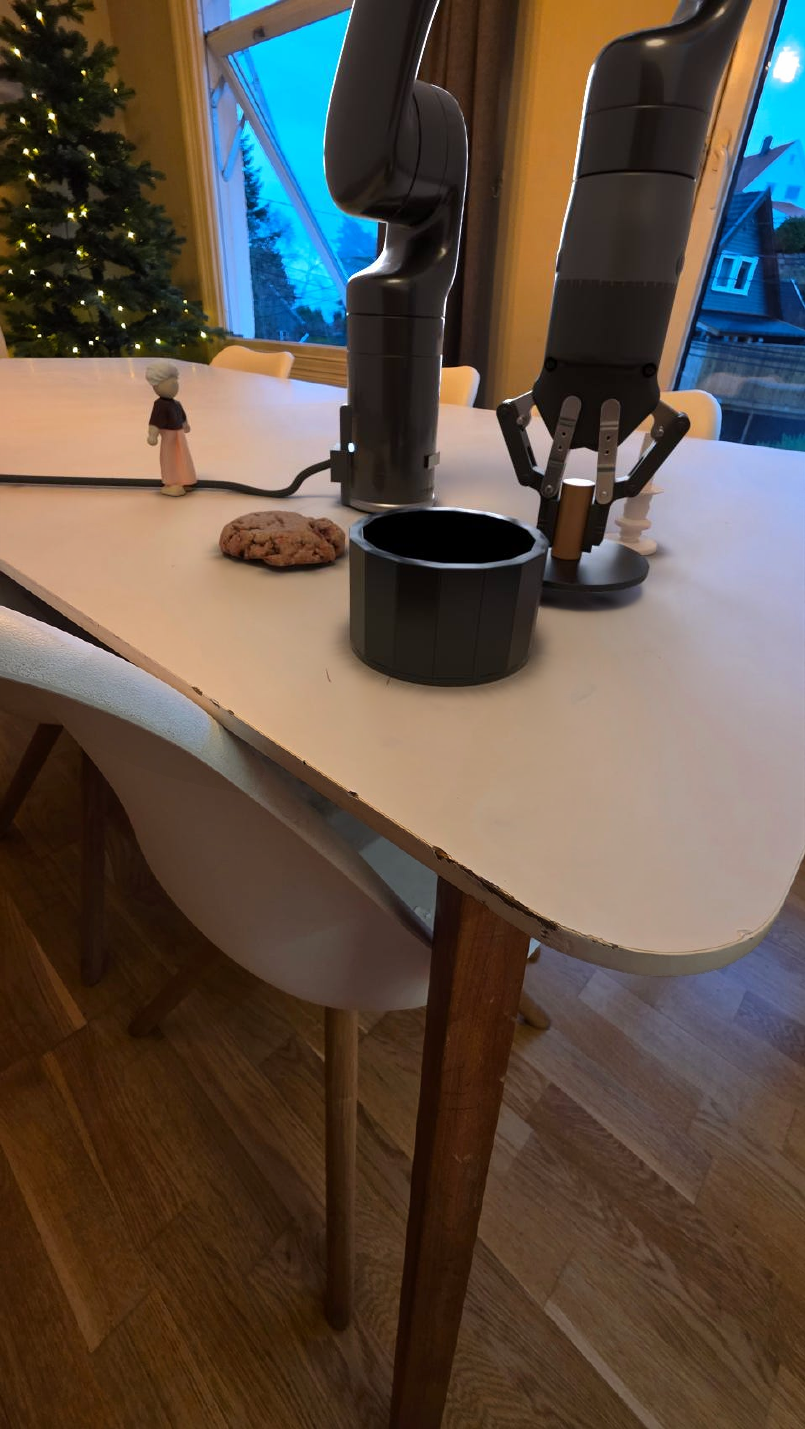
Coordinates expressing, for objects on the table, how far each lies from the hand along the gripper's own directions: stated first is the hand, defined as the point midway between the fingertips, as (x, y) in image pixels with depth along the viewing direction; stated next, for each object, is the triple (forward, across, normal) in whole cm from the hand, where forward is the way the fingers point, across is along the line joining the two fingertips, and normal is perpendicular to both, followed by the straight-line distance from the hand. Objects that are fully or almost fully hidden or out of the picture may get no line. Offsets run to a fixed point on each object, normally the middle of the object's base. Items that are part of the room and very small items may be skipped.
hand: (567, 546), depth 49 cm
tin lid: (+1, 0, 0) cm, 1 cm away
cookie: (+3, +23, +3) cm, 24 cm away
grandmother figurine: (+3, +43, -11) cm, 45 cm away
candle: (+3, -5, -12) cm, 13 cm away
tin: (+3, +6, +14) cm, 16 cm away
